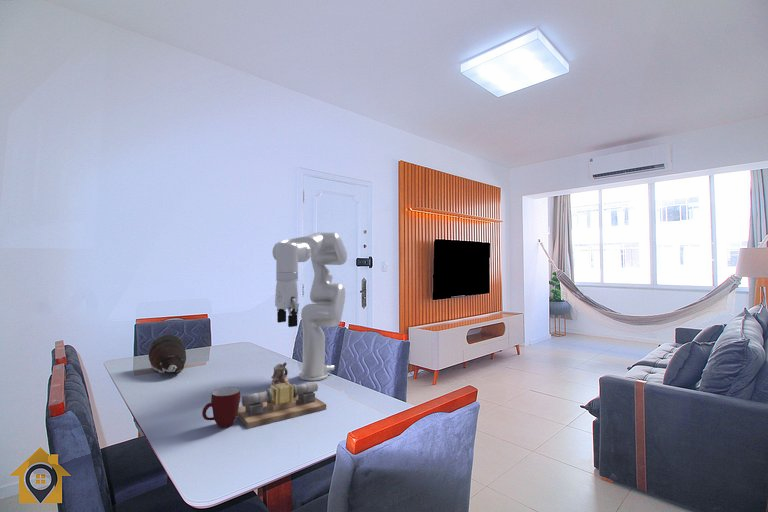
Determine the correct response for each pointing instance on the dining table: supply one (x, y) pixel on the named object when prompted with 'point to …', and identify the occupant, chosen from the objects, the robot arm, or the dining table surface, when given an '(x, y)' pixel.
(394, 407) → the dining table surface
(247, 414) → the shaft jig
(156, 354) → the clay pot
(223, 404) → the mug
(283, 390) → the block
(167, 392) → the dining table surface
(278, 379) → the figurine
